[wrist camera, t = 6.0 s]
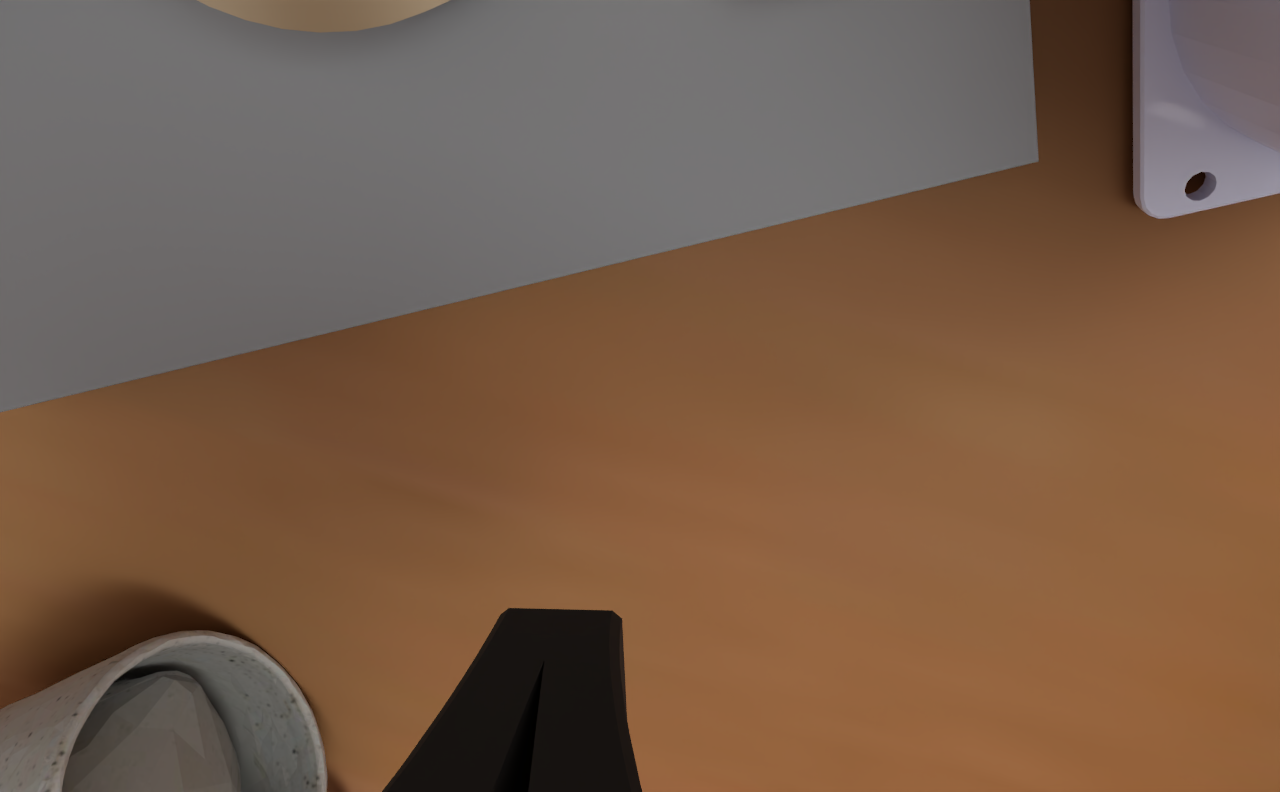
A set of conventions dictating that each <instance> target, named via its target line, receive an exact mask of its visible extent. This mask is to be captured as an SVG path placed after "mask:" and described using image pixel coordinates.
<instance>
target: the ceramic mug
mask: <svg viewBox="0 0 1280 792" xmlns="http://www.w3.org/2000/svg"><path fill="white" fill-rule="evenodd" d="M327 777H328V775H327V767H326V759H325V750H324V746H323V742H322V738H321V735H320V732H319V728H318V725H317V722H316V719H315V717H314V714H313V711H312V709H311V707H310V706H309V704H308V702H307V701H306V699H305V697H304V695H303V694H302V692H301V690H300V688H299V687H298V685H297V684H296V683H295V681H294V680H293V679H292V678H291V677H290V675H289V674H288V673H287V672H286V671H285V669H284V668H283V667H282V666H281V665H280V664H279V663H277V662H276V661H275V660H274V659H273V658H271V657H270V656H269V655H268V654H266V653H265V652H264V651H263V650H262V649H260V648H259V647H258V646H256V645H254V644H252V643H250V642H248V641H246V640H243V639H241V638H239V637H236V636H232V635H228V634H223V633H219V632H214V631H209V630H193V631H179V632H175V633H170V634H166V635H162V636H158V637H154V638H152V639H149V640H147V641H144V642H142V643H139V644H137V645H134V646H133V647H131V648H129V649H127V650H125V651H123V652H121V653H119V654H117V655H115V656H113V657H111V658H109V659H107V660H104V661H102V662H100V663H98V664H96V665H94V666H91V667H89V668H87V669H85V670H83V671H81V672H78V673H76V674H74V675H72V676H70V677H68V678H66V679H64V680H62V681H60V682H58V683H56V684H54V685H52V686H50V687H48V688H46V689H44V690H42V691H40V692H38V693H36V694H34V695H31V696H29V697H27V698H24V699H22V700H19V701H17V702H14V703H12V704H9V705H8V706H6V707H4V708H2V709H0V792H327Z"/></svg>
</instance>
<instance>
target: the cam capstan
mask: <svg viewBox="0 0 1280 792" xmlns="http://www.w3.org/2000/svg"><path fill="white" fill-rule="evenodd" d="M197 1H199V2H201V3H203V4H205V5H207V6H209V7H212V8H215V9H217V10H220V11H223V12H225V13H228V14H230V15H233V16H236V17H238V18H241V19H244V20H247V21H251V22H255V23H260V24H264V25H268V26H272V27H277V28H281V29H288V30H298V31H308V32H319V33H321V32H344V31H358V30H363V29H368V28H373V27H379V26H384V25H389V24H392V23H395V22H398V21H401V20H404V19H406V18H409V17H412V16H415V15H418V14H420V13H423V12H426V11H428V10H430V9H432V8H435V7H437V6H439V5H441V4H444V3H446V2H448V1H450V0H197Z"/></svg>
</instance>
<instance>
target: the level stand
mask: <svg viewBox="0 0 1280 792" xmlns="http://www.w3.org/2000/svg"><path fill="white" fill-rule="evenodd" d="M1038 161H1039V159H1038V141H1037V123H1036V106H1035V88H1034V70H1033V52H1032V34H1031V17H1030V0H450V1H448V2H446V3H444V4H441V5H439V6H437V7H435V8H432V9H430V10H428V11H426V12H423V13H420V14H418V15H415V16H412V17H409V18H406V19H404V20H401V21H398V22H395V23H392V24H389V25H384V26H379V27H373V28H368V29H363V30H358V31H344V32H321V33H319V32H308V31H298V30H288V29H281V28H277V27H272V26H268V25H264V24H260V23H255V22H251V21H247V20H244V19H241V18H238V17H236V16H233V15H230V14H228V13H225V12H223V11H220V10H217V9H215V8H212V7H209V6H207V5H205V4H203V3H201V2H199V1H197V0H0V412H3V411H7V410H12V409H16V408H20V407H24V406H28V405H32V404H36V403H41V402H45V401H49V400H53V399H57V398H61V397H65V396H70V395H74V394H78V393H82V392H86V391H90V390H94V389H99V388H103V387H107V386H111V385H115V384H119V383H123V382H128V381H132V380H136V379H140V378H144V377H148V376H152V375H157V374H161V373H165V372H169V371H173V370H177V369H181V368H185V367H190V366H194V365H198V364H202V363H206V362H210V361H214V360H219V359H223V358H227V357H231V356H235V355H239V354H243V353H248V352H252V351H256V350H260V349H264V348H268V347H272V346H277V345H281V344H285V343H289V342H293V341H297V340H301V339H306V338H310V337H314V336H318V335H322V334H326V333H330V332H335V331H339V330H343V329H347V328H351V327H355V326H359V325H363V324H368V323H372V322H376V321H380V320H384V319H388V318H392V317H397V316H401V315H405V314H409V313H413V312H417V311H421V310H426V309H430V308H434V307H438V306H442V305H446V304H450V303H455V302H459V301H463V300H467V299H471V298H475V297H479V296H484V295H488V294H492V293H496V292H500V291H504V290H508V289H513V288H517V287H521V286H525V285H529V284H533V283H537V282H542V281H546V280H550V279H554V278H558V277H562V276H566V275H570V274H575V273H579V272H583V271H587V270H591V269H595V268H599V267H604V266H608V265H612V264H616V263H620V262H624V261H628V260H633V259H637V258H641V257H645V256H649V255H653V254H657V253H662V252H666V251H670V250H674V249H678V248H682V247H686V246H691V245H695V244H699V243H703V242H707V241H711V240H715V239H720V238H724V237H728V236H732V235H736V234H740V233H744V232H748V231H753V230H757V229H761V228H765V227H769V226H773V225H777V224H782V223H786V222H790V221H794V220H798V219H802V218H806V217H811V216H815V215H819V214H823V213H827V212H831V211H835V210H840V209H844V208H848V207H852V206H856V205H860V204H864V203H869V202H873V201H877V200H881V199H885V198H889V197H893V196H898V195H902V194H906V193H910V192H914V191H918V190H922V189H927V188H931V187H935V186H939V185H943V184H947V183H951V182H955V181H960V180H964V179H968V178H972V177H976V176H980V175H984V174H989V173H993V172H997V171H1001V170H1005V169H1009V168H1013V167H1018V166H1022V165H1026V164H1030V163H1034V162H1038Z"/></svg>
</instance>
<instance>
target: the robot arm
mask: <svg viewBox="0 0 1280 792" xmlns="http://www.w3.org/2000/svg"><path fill="white" fill-rule="evenodd" d="M1200 172H1205V175H1206V177H1205V181H1204V184H1203V185H1202V186H1201V187H1200V188H1199V189H1198V190H1197V191H1195V192H1193V193H1191V194H1186V193H1185V187H1186V184H1187V182H1188V181H1189V180H1190V179H1191V177H1192V176H1194V175H1196V174H1198V173H1200ZM1279 193H1280V0H1133V195H1134V199H1135V203H1136V205H1137V206H1138V207H1139V208H1140V209H1141V210H1142V211H1144V212H1145V213H1146V214H1148V215H1149V216H1152V217H1155V218H1158V219H1162V218H1172V217H1177V216H1181V215H1185V214H1190V213H1194V212H1199V211H1203V210H1208V209H1212V208H1217V207H1221V206H1226V205H1230V204H1235V203H1239V202H1243V201H1248V200H1252V199H1257V198H1261V197H1266V196H1270V195H1275V194H1279ZM382 792H642V789H641V785H640V781H639V776H638V771H637V767H636V762H635V758H634V753H633V748H632V744H631V739H630V734H629V729H628V723H627V712H626V691H625V671H624V651H623V630H622V618H620V617H619V616H618V615H617V614H616V613H614V612H613V611H604V610H563V609H522V608H508V609H507V610H506V611H505V612H504V613H502V614H501V615H500V617H499V618H498V620H497V622H496V624H495V625H494V627H493V629H492V631H491V632H490V634H489V636H488V638H487V639H486V641H485V643H484V644H483V646H482V648H481V649H480V651H479V653H478V654H477V656H476V657H475V659H474V661H473V662H472V664H471V665H470V667H469V669H468V670H467V672H466V673H465V675H464V677H463V678H462V680H461V681H460V683H459V684H458V686H457V687H456V689H455V690H454V692H453V693H452V695H451V696H450V698H449V699H448V701H447V702H446V704H445V705H444V707H443V708H442V710H441V711H440V713H439V714H438V715H437V717H436V718H435V720H434V721H433V723H432V724H431V725H430V727H429V728H428V730H427V731H426V732H425V734H424V735H423V737H422V738H421V740H420V741H419V742H418V744H417V745H416V747H415V748H414V750H413V751H412V752H411V754H410V755H409V757H408V758H407V759H406V761H405V762H404V764H403V765H402V766H401V768H400V769H399V770H398V772H397V773H396V774H395V776H394V777H393V778H392V779H391V781H390V782H389V783H388V785H387V786H386V787H385V788H384V790H383V791H382Z"/></svg>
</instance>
